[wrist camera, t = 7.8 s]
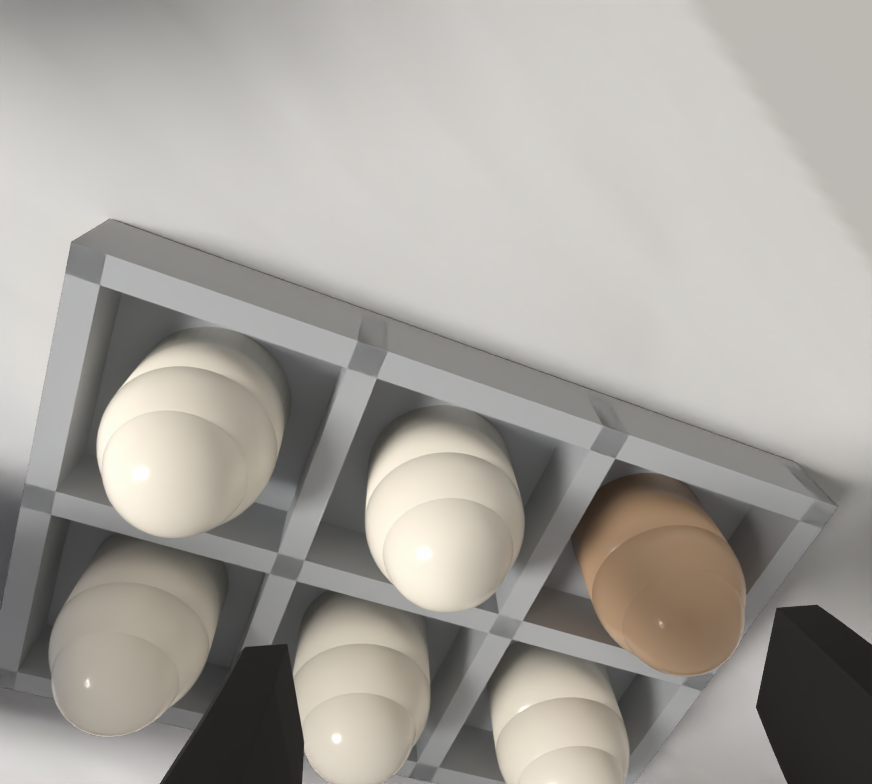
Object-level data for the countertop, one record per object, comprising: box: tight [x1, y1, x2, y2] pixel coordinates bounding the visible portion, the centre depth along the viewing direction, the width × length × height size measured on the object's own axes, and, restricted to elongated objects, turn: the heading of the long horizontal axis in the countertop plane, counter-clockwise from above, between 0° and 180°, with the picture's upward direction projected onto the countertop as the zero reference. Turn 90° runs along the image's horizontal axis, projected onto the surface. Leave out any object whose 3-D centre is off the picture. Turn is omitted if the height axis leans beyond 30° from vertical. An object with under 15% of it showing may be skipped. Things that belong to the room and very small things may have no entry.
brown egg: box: [571, 473, 746, 677], centre depth 19 cm, size 4×4×5 cm
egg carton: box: [0, 219, 838, 784], centre depth 20 cm, size 13×19×2 cm
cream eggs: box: [48, 327, 630, 784], centre depth 19 cm, size 10×16×5 cm, turn 68°
